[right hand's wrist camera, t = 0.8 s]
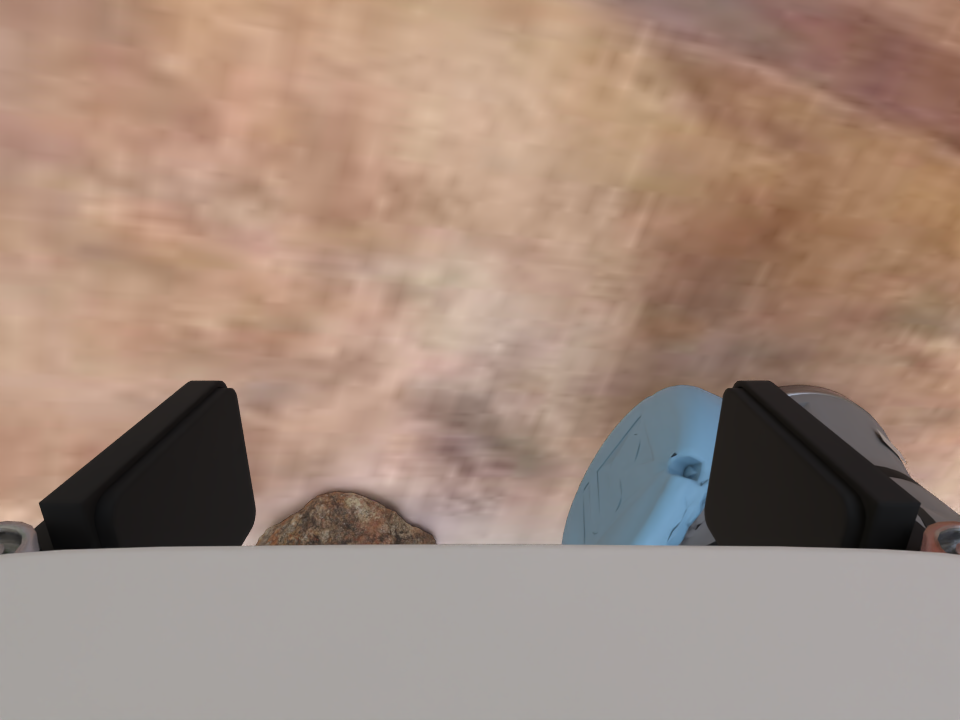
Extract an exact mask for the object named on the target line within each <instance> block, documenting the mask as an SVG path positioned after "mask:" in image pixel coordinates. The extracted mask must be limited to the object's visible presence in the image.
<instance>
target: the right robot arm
mask: <svg viewBox="0 0 960 720" xmlns="http://www.w3.org/2000/svg"><path fill="white" fill-rule="evenodd" d="M39 505H40V508H41V511H42V514H43V518H44V521H43V522H41V523H40V524H39V525H38V526H37V527H36V528H33V527H32V526H31V525H29V524H26V523H23V522H15V521H3V522H0V720H960V522H957V521H945V522H937V523H934V524H931V525H929V526H928V527H927V528H924V527H923V526H922V525H921V524H920V523H919V522H917V521H916V518H917V514H918V511H919V508H920V505H921V502H919V501H918V500H917V499H916V498H914V497H913V496H912V495H911V494H909V493H908V492H907V491H906V490H904V489H903V488H902V487H901V486H900V485H898V484H897V483H896V482H895V481H893V480H892V479H891V478H890V477H888V476H887V475H886V474H885V473H884V472H882V471H881V470H880V469H879V468H877V467H876V466H875V465H874V464H872V463H871V462H870V461H869V460H867V459H866V458H865V457H864V456H863V455H861V454H860V453H859V452H858V451H856V450H855V449H854V448H853V447H851V446H850V445H849V444H848V443H846V442H845V441H844V440H843V439H842V438H840V437H839V436H838V435H837V434H835V433H834V432H833V431H832V430H830V429H829V428H828V427H827V426H825V425H824V424H823V423H822V422H821V421H819V420H818V419H817V418H816V417H814V416H813V415H812V414H811V413H809V412H808V411H807V410H806V409H805V408H803V407H802V406H801V405H800V404H798V403H797V402H796V401H795V400H793V399H792V398H791V397H790V396H788V395H787V394H786V393H785V392H784V391H782V390H781V389H780V388H779V387H777V386H776V385H775V384H774V383H772V382H770V381H737V382H736V383H735V384H734V386H733V388H727V389H726V390H725V392H724V395H723V399H722V405H721V411H720V417H719V423H718V429H717V435H716V441H715V447H714V453H713V459H712V465H711V471H710V477H709V483H708V489H707V495H706V501H705V508H704V515H705V521H706V525H707V527H708V529H709V530H710V532H711V534H712V536H713V537H714V539H715V541H716V542H717V544H718V546H667V545H546V544H442V545H286V546H242V544H243V542H244V541H245V539H246V537H247V536H248V534H249V532H250V530H251V529H252V527H253V525H254V521H255V515H256V508H255V501H254V495H253V489H252V483H251V477H250V471H249V465H248V459H247V453H246V447H245V441H244V435H243V429H242V423H241V417H240V411H239V405H238V399H237V395H236V392H235V390H234V389H233V388H227V386H226V384H225V383H224V382H223V381H190V382H188V383H186V384H185V385H184V386H183V387H181V388H180V389H179V390H178V391H176V392H175V393H174V394H173V395H172V396H170V397H169V398H168V399H167V400H165V401H164V402H163V403H162V404H160V405H159V406H158V407H157V408H155V409H154V410H153V411H152V412H151V413H149V414H148V415H147V416H146V417H144V418H143V419H142V420H141V421H139V422H138V423H137V424H136V425H135V426H133V427H132V428H131V429H130V430H128V431H127V432H126V433H125V434H123V435H122V436H121V437H120V438H118V439H117V440H116V441H115V442H114V443H112V444H111V445H110V446H109V447H107V448H106V449H105V450H104V451H102V452H101V453H100V454H99V455H97V456H96V457H95V458H94V459H93V460H91V461H90V462H89V463H88V464H86V465H85V466H84V467H83V468H81V469H80V470H79V471H78V472H76V473H75V474H74V475H73V476H72V477H70V478H69V479H68V480H67V481H65V482H64V483H63V484H62V485H60V486H59V487H58V488H57V489H56V490H54V491H53V492H52V493H51V494H49V495H48V496H47V497H46V498H44V499H43V500H42V501H41V502H39Z"/></svg>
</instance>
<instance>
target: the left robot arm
mask: <svg viewBox="0 0 960 720" xmlns="http://www.w3.org/2000/svg"><path fill="white" fill-rule="evenodd" d="M779 388H780V389H781V390H782V391H784V392H785V393H786V394H787V395H788V396H790V397H791V398H792V399H793V400H795V401H796V402H797V403H798V404H800V405H801V406H802V407H803V408H805V409H806V410H807V411H808V412H809V413H811V414H812V415H813V416H814V417H816V418H817V419H818V420H819V421H821V422H822V423H823V424H824V425H825V426H827V427H828V428H829V429H830V430H832V431H833V432H834V433H835V434H837V435H838V436H839V437H840V438H842V439H843V440H844V441H845V442H846V443H848V444H849V445H850V446H851V447H853V448H854V449H855V450H856V451H858V452H859V453H860V454H861V455H863V456H864V457H865V458H866V459H867V460H869V461H870V462H871V463H872V464H874V465H875V466H876V467H877V468H879V469H880V470H881V471H882V472H884V473H885V474H886V475H887V476H888V477H890V478H891V479H892V480H893V481H895V482H896V483H897V484H898V485H900V486H901V487H902V488H903V489H904V490H906V491H907V492H908V493H909V494H911V495H912V496H913V497H914V498H916V499H917V500H918V501H919V502H921V505H920V508H919V511H918V514H917V518H916V521H917V522H919V523H920V524H921V525H922V526H923V527H924V528H927V527H928V526H929V525H931V524H934V523H937V522H945V521H957V522H960V515H959V514H957V513H956V512H955V511H953V510H952V509H951V508H949V507H948V506H947V505H946V504H944V503H943V502H942V501H940V500H939V499H938V498H937V497H935V496H934V495H933V494H931V493H930V492H929V491H927V490H926V489H924V488H923V487H922V486H921V485H919V484H918V483H917V482H915V481H914V480H913V479H912V478H911V477H910V475H909V474H908V472H907V470H906V468H905V467H904V465H903V463H902V461H901V460H900V458H901V459H902V460H903V461H904V462H905V463H906V461H905V459H904V458H903V456H902V454H901V453H900V452H899V451H898V450H897V449H896V448H895V447H894V446H893V445H892V444H891V442H890V440H889V439H888V437H887V435H886V434H885V432H884V430H883V429H882V428H881V426H880V425H879V424H878V423H877V422H876V420H875V419H874V418H873V417H872V416H871V415H870V414H869V413H868V412H866V411H865V410H864V409H863V408H861V407H860V406H858V405H857V404H855V403H854V402H852V401H851V400H849V399H848V398H846V397H845V396H843V395H841V394H839V393H837V392H834V391H831V390H828V389H824V388H820V387H814V386H803V385H796V386H784V387H779ZM722 399H723V398H721V397H719V396H716V395H714V394H712V393H710V392H708V391H705V390H703V389H701V388H698V387H695V386H688V385H677V386H672V387H668V388H665V389H662V390H661V391H658V392H656V393H655V394H654V395H653V396H650V397H647V398H646V399H644V400H643V401H641V402H640V403H639V404H638V405H637V406H635V407H634V408H633V409H632V410H631V411H630V412H629V413H628V414H627V415H626V416H625V417H624V418H623V419H622V420H621V421H620V423H619V424H618V425H617V426H616V427H615V428H614V430H613V431H612V432H611V434H610V435H609V436H608V438H607V439H606V440H605V442H604V443H603V445H602V446H601V448H600V449H599V451H598V452H597V454H596V456H595V457H594V459H593V461H592V463H591V464H590V466H589V468H588V470H587V471H586V473H585V475H584V478H583V480H582V482H581V484H580V486H579V489H578V491H577V493H576V495H575V498H574V500H573V503H572V505H571V508H570V511H569V514H568V517H567V521H566V525H565V529H564V533H563V539H562V545H667V546H718V544H717V542H716V541H715V539H714V537H713V536H712V534H711V532H710V530H709V529H708V527H707V525H706V521H705V515H704V508H705V501H706V495H707V489H708V483H709V477H710V471H711V465H712V459H713V453H714V447H715V441H716V435H717V429H718V423H719V417H720V411H721V405H722ZM899 457H900V458H899ZM906 464H907V463H906Z"/></svg>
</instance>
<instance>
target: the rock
mask: <svg viewBox="0 0 960 720" xmlns="http://www.w3.org/2000/svg"><path fill="white" fill-rule="evenodd" d="M286 545H435V539H434V538H433V536H432V535H430V534H428V533H426V532H424V531H423V530H421V529H420V528H418V527H412V526H411V525H410V524H408V523H406V522H405V521H404V520H403V519H402V518H401V517H400V516H399V515H397V512H396V511H392V510H391V509H387V508H385V506H383V505H381V504H380V503H378V502H376V501H373V500H370V499H368V498H367V497H364V496H361V495H358V494H356V493H343V492H332V493H326V494H323V495H319V496H317V497H316V498H314V499H312V500H311V501H310V502H308V503H307V504H306V505H305V507H304V508H303V509H302V510H300V511H299V512H298V513H296V514H292V515H291V516H289V517H288V518H287V519H285V520H284V521H282V522H281V523H280V524H276V525H274V526H273V527H270V528H268V529H267V530H266V531H265V533H264V534H263V535H262V536H261V537H260V538H259V540H258V543H257V544H256V545H255V546H286Z"/></svg>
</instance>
